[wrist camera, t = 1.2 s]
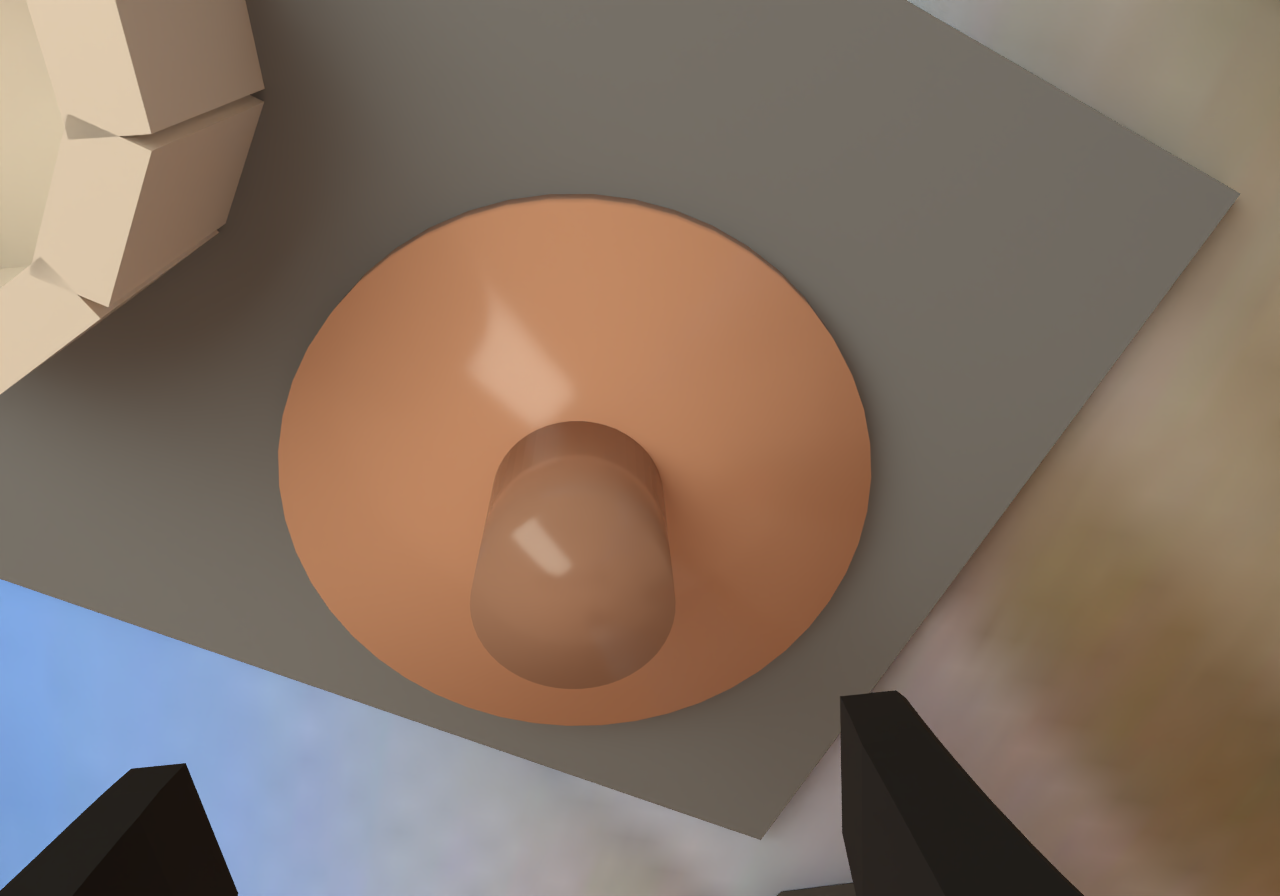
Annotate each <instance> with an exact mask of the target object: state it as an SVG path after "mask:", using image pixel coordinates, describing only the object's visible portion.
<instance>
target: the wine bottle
mask: <svg viewBox="0 0 1280 896" xmlns="http://www.w3.org/2000/svg"><path fill="white" fill-rule="evenodd" d="M777 896H856V893H855V888H854V884H853V883H850V884H842V885H834V886H826V887H818V888H810V889H802V890H793V891H785V892H781V893H779V894H778V895H777Z"/></svg>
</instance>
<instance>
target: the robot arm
mask: <svg viewBox="0 0 1280 896" xmlns="http://www.w3.org/2000/svg"><path fill="white" fill-rule="evenodd" d="M840 725H841V781H842V833H843V838H844V842H845V847H846V852H847V856H848V861H849V866H850V870H851V875H852V879H853V884H854V888H855V893H856V896H1084V895H1083V894H1082V893H1081V892H1080V891H1079V890H1078V889H1077V888H1076V887H1075V886H1073V885H1072V884H1071V883H1070V882H1069V881H1068V880H1067V879H1066V878H1065V877H1064V876H1063V875H1062V874H1061V873H1060V872H1059V871H1058V870H1057V869H1056V868H1055V867H1054V866H1053V865H1052V864H1051V863H1050V862H1049V861H1048V860H1047V859H1046V858H1045V857H1044V856H1043V855H1042V854H1041V853H1040V852H1039V851H1038V850H1037V849H1036V848H1035V847H1034V846H1033V845H1032V844H1031V842H1030V841H1029V840H1028V839H1027V838H1026V837H1025V836H1024V835H1023V834H1022V833H1021V832H1020V831H1019V830H1018V829H1017V828H1016V827H1015V825H1014V824H1013V823H1012V822H1011V821H1010V820H1009V819H1008V818H1007V817H1006V816H1005V815H1004V814H1003V813H1002V812H1001V811H1000V810H999V808H998V807H997V806H996V805H995V804H994V803H993V802H992V801H991V800H990V799H989V798H988V796H987V795H986V794H985V793H984V792H983V791H982V790H981V789H980V788H979V786H978V785H977V784H976V783H975V782H974V781H973V780H972V778H971V777H970V776H969V775H968V774H967V773H966V772H965V770H964V769H963V768H962V767H961V766H960V765H959V763H958V762H957V761H956V760H955V759H954V758H953V756H952V755H951V754H950V753H949V752H948V750H947V749H946V748H945V747H944V746H943V744H942V743H941V742H940V741H939V740H938V738H937V737H936V736H935V735H934V733H933V732H932V731H931V730H930V728H929V727H928V726H927V725H926V723H925V722H924V721H923V720H922V718H921V717H920V716H919V715H918V713H917V712H916V711H915V709H914V708H913V707H912V706H911V704H910V703H909V702H908V700H907V699H906V698H905V697H904V696H902V695H901V694H900V693H899V692H897V691H887V692H877V693H867V694H857V695H847V696H840ZM0 896H238V892H237V890H236V887H235V885H234V882H233V880H232V877H231V875H230V872H229V870H228V867H227V865H226V862H225V860H224V857H223V855H222V852H221V850H220V847H219V845H218V842H217V840H216V837H215V835H214V832H213V830H212V828H211V825H210V823H209V820H208V818H207V815H206V813H205V810H204V808H203V805H202V803H201V800H200V798H199V795H198V793H197V790H196V788H195V785H194V783H193V780H192V778H191V775H190V773H189V771H188V768H187V766H186V763H183V764H174V765H164V766H154V767H144V768H135V769H130V770H129V771H128V772H127V773H126V774H125V775H124V776H122V777H121V778H120V779H119V780H118V781H117V782H116V783H114V784H113V785H112V786H111V787H110V788H109V789H108V790H107V791H105V792H104V793H103V794H102V795H101V796H100V797H99V798H98V799H97V800H96V801H95V802H94V803H93V804H91V805H90V806H89V807H88V808H87V809H86V810H85V811H84V812H83V813H82V814H81V815H80V816H79V817H78V818H77V819H75V820H74V821H73V822H72V823H71V824H70V825H69V826H68V827H67V828H66V829H65V830H64V831H63V832H62V833H61V834H60V835H59V836H58V837H57V838H56V839H54V840H53V841H52V842H51V843H50V844H49V845H48V846H47V847H46V848H45V849H44V850H43V851H42V852H41V853H40V854H39V855H38V856H37V857H36V858H35V859H33V860H32V861H31V862H30V863H29V864H28V865H27V866H26V867H25V868H24V869H23V870H22V871H21V872H20V873H19V874H18V875H17V876H15V877H14V878H13V879H12V880H11V881H10V882H9V883H8V884H7V885H6V886H5V887H4V888H3V889H2V890H1V891H0Z"/></svg>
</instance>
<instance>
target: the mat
mask: <svg viewBox="0 0 1280 896" xmlns="http://www.w3.org/2000/svg"><path fill="white" fill-rule="evenodd" d="M245 1H246V6H247V10H248V15H249V19H250V24H251V28H252V33H253V38H254V42H255V47H256V51H257V56H258V60H259V65H260V70H261V74H262V79H263V83H264V88H265V89H263V90H260V91H258V92H255V93H253V94H250V95H251V96H253V97H255V98H257V99H259V100H262V101H264V104H263V107H262V110H261V113H260V117H259V120H258V123H257V126H256V129H255V132H254V135H253V139H252V142H251V145H250V148H249V151H248V154H247V157H246V161H245V164H244V167H243V170H242V173H241V176H240V179H239V183H238V186H237V189H236V192H235V195H234V198H233V202H232V205H231V208H230V211H229V214H228V217H227V220H226V224H224V225H223V226H221V227H220V228H219V229H217V231H218V232H219V233H218V234H217V235H215V236H214V237H213V238H211V239H210V240H209V241H207V242H206V243H205V244H203V245H202V246H201V247H199V248H198V249H197V250H195V251H194V252H193V253H191V254H190V255H189V256H187V257H186V258H185V259H183V260H182V261H181V262H179V263H178V264H177V265H175V266H174V267H173V268H171V269H170V270H169V271H167V272H166V273H165V274H163V275H162V276H161V277H159V278H158V279H157V280H155V281H154V282H153V283H151V284H150V285H149V286H147V287H146V288H145V289H143V290H142V291H141V292H140V293H138V294H137V295H136V296H134V297H133V298H132V299H130V300H129V301H128V302H126V303H125V304H123V305H122V306H121V307H119V308H118V309H117V310H115V311H114V312H113V313H111V314H110V315H108V316H107V317H106V318H104V319H103V320H102V321H100V322H99V323H98V324H96V325H95V326H93V327H92V328H91V329H89V330H88V331H87V332H85V333H84V334H82V335H81V336H80V337H78V338H77V339H76V340H74V341H73V342H72V343H70V344H69V345H67V346H66V347H65V348H63V349H62V350H61V351H59V352H58V353H57V354H55V355H54V356H52V357H51V358H50V359H48V360H47V361H46V362H44V363H43V364H42V365H40V366H39V367H37V368H36V369H35V370H33V371H32V372H31V373H29V374H28V375H26V376H25V377H24V378H22V379H21V380H20V381H18V382H17V383H16V384H14V385H13V386H11V387H10V388H9V389H7V390H6V391H5V392H3V393H2V394H1V395H0V579H2V580H5V581H8V582H11V583H14V584H17V585H20V586H23V587H26V588H28V589H31V590H34V591H37V592H40V593H43V594H46V595H49V596H52V597H55V598H58V599H60V600H63V601H66V602H69V603H72V604H75V605H78V606H81V607H84V608H87V609H90V610H93V611H95V612H98V613H101V614H104V615H107V616H110V617H113V618H116V619H119V620H122V621H125V622H127V623H130V624H133V625H136V626H139V627H142V628H145V629H148V630H151V631H154V632H157V633H160V634H162V635H165V636H168V637H171V638H174V639H177V640H180V641H183V642H186V643H189V644H192V645H194V646H197V647H200V648H203V649H206V650H209V651H212V652H215V653H218V654H221V655H224V656H227V657H229V658H232V659H235V660H238V661H241V662H244V663H247V664H250V665H253V666H256V667H259V668H261V669H264V670H267V671H270V672H273V673H276V674H279V675H282V676H285V677H288V678H291V679H294V680H296V681H299V682H302V683H305V684H308V685H311V686H314V687H317V688H320V689H323V690H326V691H328V692H331V693H334V694H337V695H340V696H343V697H346V698H349V699H352V700H355V701H358V702H361V703H363V704H366V705H369V706H372V707H375V708H378V709H381V710H384V711H387V712H390V713H393V714H395V715H398V716H401V717H404V718H407V719H410V720H413V721H416V722H419V723H422V724H425V725H428V726H430V727H433V728H436V729H439V730H442V731H445V732H448V733H451V734H454V735H457V736H460V737H462V738H465V739H468V740H471V741H474V742H477V743H480V744H483V745H486V746H489V747H492V748H495V749H497V750H500V751H503V752H506V753H509V754H512V755H515V756H518V757H521V758H524V759H527V760H529V761H532V762H535V763H538V764H541V765H544V766H547V767H550V768H553V769H556V770H559V771H561V772H564V773H567V774H570V775H573V776H576V777H579V778H582V779H585V780H588V781H591V782H594V783H596V784H599V785H602V786H605V787H608V788H611V789H614V790H617V791H620V792H623V793H626V794H628V795H631V796H634V797H637V798H640V799H643V800H646V801H649V802H652V803H655V804H658V805H661V806H663V807H666V808H669V809H672V810H675V811H678V812H681V813H684V814H687V815H690V816H693V817H695V818H698V819H701V820H704V821H707V822H710V823H713V824H716V825H719V826H722V827H725V828H728V829H730V830H733V831H736V832H739V833H742V834H745V835H748V836H751V837H754V838H757V839H760V840H761V839H762V837H763V836H764V835H765V833H766V832H767V831H768V829H769V828H770V827H771V825H772V824H773V823H774V821H775V820H776V819H777V817H778V816H779V815H780V813H781V812H782V810H783V809H784V808H785V806H786V805H787V804H788V802H789V801H790V800H791V798H792V797H793V796H794V794H795V793H796V792H797V790H798V789H799V788H800V786H801V785H802V784H803V782H804V781H805V780H806V778H807V777H808V775H809V774H810V773H811V771H812V770H813V769H814V767H815V766H816V765H817V763H818V762H819V761H820V759H821V758H822V757H823V755H824V754H825V753H826V751H827V750H828V749H829V747H830V746H831V745H832V743H833V742H834V740H835V739H836V738H837V736H838V735H839V734H840V732H841V725H840V696H847V695H857V694H867V693H870V692H871V691H872V689H873V688H874V687H875V685H876V684H877V683H878V681H879V680H880V679H881V677H882V676H883V675H884V673H885V672H886V670H887V669H888V668H889V666H890V665H891V664H892V662H893V661H894V660H895V658H896V657H897V656H898V654H899V653H900V652H901V650H902V649H903V648H904V646H905V645H906V644H907V642H908V641H909V639H910V638H911V637H912V635H913V634H914V633H915V631H916V630H917V629H918V627H919V626H920V625H921V623H922V622H923V621H924V619H925V618H926V617H927V615H928V614H929V613H930V611H931V610H932V609H933V607H934V606H935V604H936V603H937V602H938V600H939V599H940V598H941V596H942V595H943V594H944V592H945V591H946V590H947V588H948V587H949V586H950V584H951V583H952V582H953V580H954V579H955V578H956V576H957V575H958V574H959V572H960V571H961V569H962V568H963V567H964V565H965V564H966V563H967V561H968V560H969V559H970V557H971V556H972V555H973V553H974V552H975V551H976V549H977V548H978V547H979V545H980V544H981V543H982V541H983V540H984V539H985V537H986V536H987V534H988V533H989V532H990V530H991V529H992V528H993V526H994V525H995V524H996V522H997V521H998V520H999V518H1000V517H1001V516H1002V514H1003V513H1004V512H1005V510H1006V509H1007V508H1008V506H1009V505H1010V503H1011V502H1012V501H1013V499H1014V498H1015V497H1016V495H1017V494H1018V493H1019V491H1020V490H1021V489H1022V487H1023V486H1024V485H1025V483H1026V482H1027V481H1028V479H1029V478H1030V477H1031V475H1032V474H1033V473H1034V471H1035V470H1036V468H1037V467H1038V466H1039V464H1040V463H1041V462H1042V460H1043V459H1044V458H1045V456H1046V455H1047V454H1048V452H1049V451H1050V450H1051V448H1052V447H1053V446H1054V444H1055V443H1056V442H1057V440H1058V439H1059V438H1060V436H1061V435H1062V433H1063V432H1064V431H1065V429H1066V428H1067V427H1068V425H1069V424H1070V423H1071V421H1072V420H1073V419H1074V417H1075V416H1076V415H1077V413H1078V412H1079V411H1080V409H1081V408H1082V407H1083V405H1084V404H1085V403H1086V401H1087V400H1088V398H1089V397H1090V396H1091V394H1092V393H1093V392H1094V390H1095V389H1096V388H1097V386H1098V385H1099V384H1100V382H1101V381H1102V380H1103V378H1104V377H1105V376H1106V374H1107V373H1108V372H1109V370H1110V369H1111V368H1112V366H1113V365H1114V363H1115V362H1116V361H1117V359H1118V358H1119V357H1120V355H1121V354H1122V353H1123V351H1124V350H1125V349H1126V347H1127V346H1128V345H1129V343H1130V342H1131V341H1132V339H1133V338H1134V337H1135V335H1136V334H1137V332H1138V331H1139V330H1140V328H1141V327H1142V326H1143V324H1144V323H1145V322H1146V320H1147V319H1148V318H1149V316H1150V315H1151V314H1152V312H1153V311H1154V310H1155V308H1156V307H1157V306H1158V304H1159V303H1160V302H1161V300H1162V299H1163V297H1164V296H1165V295H1166V293H1167V292H1168V291H1169V289H1170V288H1171V287H1172V285H1173V284H1174V283H1175V281H1176V280H1177V279H1178V277H1179V276H1180V275H1181V273H1182V272H1183V271H1184V269H1185V268H1186V267H1187V265H1188V264H1189V262H1190V261H1191V260H1192V258H1193V257H1194V256H1195V254H1196V253H1197V252H1198V250H1199V249H1200V248H1201V246H1202V245H1203V244H1204V242H1205V241H1206V240H1207V238H1208V237H1209V236H1210V234H1211V233H1212V232H1213V230H1214V229H1215V227H1216V226H1217V225H1218V223H1219V222H1220V221H1221V219H1222V218H1223V217H1224V215H1225V214H1226V213H1227V211H1228V210H1229V209H1230V207H1231V206H1232V205H1233V203H1234V202H1235V201H1236V199H1237V198H1238V197H1239V195H1240V193H1238V192H1236V191H1235V190H1233V189H1231V188H1229V187H1228V186H1226V185H1224V184H1223V183H1221V182H1219V181H1217V180H1216V179H1214V178H1212V177H1210V176H1209V175H1207V174H1205V173H1204V172H1202V171H1200V170H1198V169H1197V168H1195V167H1193V166H1191V165H1190V164H1188V163H1186V162H1185V161H1183V160H1181V159H1179V158H1178V157H1176V156H1174V155H1172V154H1171V153H1169V152H1167V151H1166V150H1164V149H1162V148H1160V147H1159V146H1157V145H1155V144H1153V143H1152V142H1150V141H1148V140H1147V139H1145V138H1143V137H1141V136H1140V135H1138V134H1136V133H1134V132H1133V131H1131V130H1129V129H1128V128H1126V127H1124V126H1122V125H1121V124H1119V123H1117V122H1115V121H1114V120H1112V119H1110V118H1109V117H1107V116H1105V115H1103V114H1102V113H1100V112H1098V111H1096V110H1095V109H1093V108H1091V107H1090V106H1088V105H1086V104H1084V103H1083V102H1081V101H1079V100H1077V99H1076V98H1074V97H1072V96H1071V95H1069V94H1067V93H1065V92H1064V91H1062V90H1060V89H1058V88H1057V87H1055V86H1053V85H1052V84H1050V83H1048V82H1046V81H1045V80H1043V79H1041V78H1039V77H1038V76H1036V75H1034V74H1033V73H1031V72H1029V71H1027V70H1026V69H1024V68H1022V67H1020V66H1019V65H1017V64H1015V63H1014V62H1012V61H1010V60H1008V59H1007V58H1005V57H1003V56H1001V55H1000V54H998V53H996V52H995V51H993V50H991V49H989V48H988V47H986V46H984V45H982V44H981V43H979V42H977V41H976V40H974V39H972V38H970V37H969V36H967V35H965V34H963V33H962V32H960V31H958V30H957V29H955V28H953V27H951V26H950V25H948V24H946V23H944V22H943V21H941V20H939V19H938V18H936V17H934V16H932V15H931V14H929V13H927V12H925V11H924V10H922V9H920V8H918V7H917V6H915V5H913V4H912V3H910V2H908V1H906V0H245ZM547 194H597V195H605V196H613V197H620V198H628V199H635V200H639V201H643V202H646V203H650V204H654V205H658V206H662V207H665V208H669V209H673V210H676V211H678V212H681V213H683V214H686V215H688V216H691V217H693V218H695V219H698V220H700V221H703V222H705V223H707V224H710V225H712V226H714V227H716V228H718V229H719V230H721V231H723V232H724V233H726V234H728V235H730V236H731V237H733V238H735V239H737V240H738V241H740V242H742V243H743V244H745V245H747V246H748V247H750V248H751V249H752V250H753V251H755V252H756V253H757V254H759V255H760V256H761V257H762V258H764V259H765V260H766V261H767V262H769V263H770V264H771V265H773V266H774V267H775V268H776V269H778V270H779V271H780V272H781V273H782V274H783V275H784V276H785V277H786V278H787V279H788V280H789V282H790V283H791V284H792V285H793V286H794V287H795V288H796V289H797V290H798V291H799V292H800V293H801V294H802V295H803V296H804V297H805V298H806V300H807V301H808V302H809V304H810V305H811V307H812V308H813V309H814V311H815V312H816V314H817V315H818V316H819V318H820V319H821V321H822V322H823V323H824V325H825V326H826V327H827V329H828V331H829V333H830V334H831V336H832V338H833V339H834V341H835V343H836V345H837V347H838V348H839V350H840V352H841V354H842V356H843V358H844V360H845V362H846V364H847V366H848V368H849V370H850V372H851V374H852V376H853V379H854V382H855V384H856V387H857V390H858V393H859V396H860V399H861V402H862V405H863V408H864V412H865V418H866V423H867V429H868V434H869V440H870V455H871V484H870V492H869V501H868V509H867V514H866V518H865V521H864V525H863V529H862V533H861V536H860V540H859V544H858V546H857V548H856V551H855V553H854V555H853V558H852V560H851V562H850V565H849V567H848V569H847V572H846V574H845V576H844V577H843V579H842V581H841V582H840V584H839V586H838V587H837V589H836V591H835V592H834V594H833V596H832V598H831V599H830V601H829V602H828V604H827V605H826V606H825V607H824V609H823V610H822V611H821V613H820V614H819V615H818V616H817V618H816V619H815V620H814V621H813V623H812V624H811V625H810V627H809V628H808V629H807V630H806V631H805V632H804V633H803V634H802V635H801V636H800V637H799V638H798V639H797V640H796V641H795V642H794V643H793V644H792V645H791V646H790V647H789V648H788V649H787V650H786V651H784V652H783V653H782V654H780V655H779V656H778V657H777V658H775V659H774V660H773V661H771V662H770V663H769V664H768V665H766V666H765V667H764V668H762V669H761V670H760V671H758V672H757V673H755V674H754V675H752V676H750V677H749V678H747V679H745V680H744V681H742V682H740V683H739V684H737V685H735V686H734V687H732V688H730V689H728V690H726V691H724V692H722V693H720V694H718V695H715V696H713V697H711V698H709V699H707V700H705V701H703V702H700V703H698V704H695V705H692V706H689V707H686V708H683V709H680V710H677V711H674V712H671V713H668V714H664V715H659V716H655V717H651V718H646V719H642V720H638V721H631V722H623V723H615V724H607V725H584V726H564V725H551V724H539V723H531V722H525V721H520V720H514V719H509V718H503V717H499V716H495V715H492V714H489V713H485V712H482V711H478V710H475V709H471V708H468V707H465V706H463V705H461V704H458V703H456V702H453V701H451V700H448V699H446V698H444V697H441V696H439V695H436V694H434V693H432V692H431V691H429V690H427V689H425V688H423V687H421V686H420V685H418V684H416V683H414V682H412V681H410V680H409V679H407V678H405V677H404V676H402V675H401V674H399V673H398V672H397V671H395V670H394V669H392V668H391V667H389V666H388V665H387V664H385V663H384V662H382V661H381V660H379V659H378V658H377V657H376V656H375V655H373V654H372V653H371V652H370V651H369V650H368V649H367V648H366V647H364V646H363V645H362V644H361V643H360V642H359V641H358V640H357V639H355V638H354V637H353V636H352V635H351V634H350V632H349V631H348V630H347V629H346V628H345V627H344V626H343V625H342V623H341V622H340V621H339V620H338V619H337V618H336V617H335V615H334V614H333V613H332V612H331V611H330V610H329V608H328V607H327V605H326V604H325V602H324V601H323V599H322V598H321V596H320V595H319V593H318V592H317V590H316V589H315V587H314V586H313V584H312V583H311V581H310V579H309V577H308V575H307V573H306V571H305V569H304V567H303V565H302V563H301V561H300V559H299V557H298V555H297V553H296V551H295V548H294V545H293V542H292V539H291V536H290V533H289V530H288V527H287V524H286V521H285V516H284V510H283V505H282V499H281V493H280V488H279V464H278V448H279V440H280V432H281V424H282V416H283V413H284V409H285V406H286V402H287V399H288V395H289V392H290V388H291V385H292V381H293V379H294V377H295V375H296V373H297V370H298V368H299V366H300V364H301V362H302V360H303V357H304V355H305V353H306V351H307V349H308V347H309V345H310V344H311V342H312V341H313V339H314V338H315V336H316V335H317V333H318V332H319V330H320V329H321V327H322V326H323V324H324V323H325V321H326V320H327V318H328V317H329V315H330V314H331V313H332V311H333V310H334V309H335V307H336V306H337V305H338V303H339V302H340V301H341V300H342V299H343V297H344V296H345V295H346V294H347V293H348V292H349V291H350V290H351V289H352V288H353V286H354V285H355V284H356V283H357V282H358V281H359V280H360V279H361V278H362V276H363V275H364V274H365V273H366V272H368V271H369V270H370V269H371V268H372V267H374V266H375V265H376V264H377V263H378V262H380V261H381V260H382V259H383V258H385V257H386V256H387V255H388V254H389V253H391V252H392V251H393V250H394V249H395V248H397V247H399V246H400V245H402V244H404V243H405V242H407V241H408V240H410V239H412V238H413V237H415V236H417V235H418V234H420V233H422V232H423V231H425V230H427V229H428V228H430V227H432V226H434V225H437V224H439V223H441V222H444V221H446V220H448V219H451V218H453V217H455V216H458V215H460V214H462V213H465V212H467V211H470V210H474V209H477V208H481V207H484V206H488V205H492V204H495V203H499V202H502V201H506V200H511V199H518V198H525V197H533V196H540V195H547Z"/></svg>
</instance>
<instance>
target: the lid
mask: <svg viewBox="0 0 1280 896" xmlns="http://www.w3.org/2000/svg"><path fill="white" fill-rule="evenodd" d="M278 464H279V488H280V493H281V499H282V505H283V510H284V516H285V521H286V524H287V527H288V530H289V533H290V536H291V539H292V542H293V545H294V548H295V551H296V553H297V555H298V557H299V559H300V561H301V563H302V565H303V567H304V569H305V571H306V573H307V575H308V577H309V579H310V581H311V583H312V584H313V586H314V587H315V589H316V590H317V592H318V593H319V595H320V596H321V598H322V599H323V601H324V602H325V604H326V605H327V607H328V608H329V610H330V611H331V612H332V613H333V614H334V615H335V617H336V618H337V619H338V620H339V621H340V622H341V623H342V625H343V626H344V627H345V628H346V629H347V630H348V631H349V632H350V634H351V635H352V636H353V637H354V638H355V639H357V640H358V641H359V642H360V643H361V644H362V645H363V646H364V647H366V648H367V649H368V650H369V651H370V652H371V653H372V654H373V655H375V656H376V657H377V658H378V659H379V660H381V661H382V662H384V663H385V664H387V665H388V666H389V667H391V668H392V669H394V670H395V671H397V672H398V673H399V674H401V675H402V676H404V677H405V678H407V679H409V680H410V681H412V682H414V683H416V684H418V685H420V686H421V687H423V688H425V689H427V690H429V691H431V692H432V693H434V694H436V695H439V696H441V697H444V698H446V699H448V700H451V701H453V702H456V703H458V704H461V705H463V706H465V707H468V708H471V709H475V710H478V711H482V712H485V713H489V714H492V715H495V716H499V717H503V718H509V719H514V720H520V721H525V722H531V723H539V724H551V725H564V726H584V725H607V724H615V723H623V722H631V721H638V720H642V719H646V718H651V717H655V716H659V715H664V714H668V713H671V712H674V711H677V710H680V709H683V708H686V707H689V706H692V705H695V704H698V703H700V702H703V701H705V700H707V699H709V698H711V697H713V696H715V695H718V694H720V693H722V692H724V691H726V690H728V689H730V688H732V687H734V686H735V685H737V684H739V683H740V682H742V681H744V680H745V679H747V678H749V677H750V676H752V675H754V674H755V673H757V672H758V671H760V670H761V669H762V668H764V667H765V666H766V665H768V664H769V663H770V662H771V661H773V660H774V659H775V658H777V657H778V656H779V655H780V654H782V653H783V652H784V651H786V650H787V649H788V648H789V647H790V646H791V645H792V644H793V643H794V642H795V641H796V640H797V639H798V638H799V637H800V636H801V635H802V634H803V633H804V632H805V631H806V630H807V629H808V628H809V627H810V625H811V624H812V623H813V621H814V620H815V619H816V618H817V616H818V615H819V614H820V613H821V611H822V610H823V609H824V607H825V606H826V605H827V604H828V602H829V601H830V599H831V598H832V596H833V594H834V592H835V591H836V589H837V587H838V586H839V584H840V582H841V581H842V579H843V577H844V576H845V574H846V572H847V569H848V567H849V565H850V562H851V560H852V558H853V555H854V553H855V551H856V548H857V546H858V544H859V540H860V536H861V533H862V529H863V525H864V521H865V518H866V514H867V509H868V501H869V492H870V484H871V455H870V440H869V434H868V429H867V423H866V418H865V412H864V408H863V405H862V402H861V399H860V396H859V393H858V390H857V387H856V384H855V382H854V379H853V376H852V374H851V372H850V370H849V368H848V366H847V364H846V362H845V360H844V358H843V356H842V354H841V352H840V350H839V348H838V347H837V345H836V343H835V341H834V339H833V338H832V336H831V334H830V333H829V331H828V329H827V327H826V326H825V325H824V323H823V322H822V321H821V319H820V318H819V316H818V315H817V314H816V312H815V311H814V309H813V308H812V307H811V305H810V304H809V302H808V301H807V300H806V298H805V297H804V296H803V295H802V294H801V293H800V292H799V291H798V290H797V289H796V288H795V287H794V286H793V285H792V284H791V283H790V282H789V280H788V279H787V278H786V277H785V276H784V275H783V274H782V273H781V272H780V271H779V270H778V269H776V268H775V267H774V266H773V265H771V264H770V263H769V262H767V261H766V260H765V259H764V258H762V257H761V256H760V255H759V254H757V253H756V252H755V251H753V250H752V249H751V248H750V247H748V246H747V245H745V244H743V243H742V242H740V241H738V240H737V239H735V238H733V237H731V236H730V235H728V234H726V233H724V232H723V231H721V230H719V229H718V228H716V227H714V226H712V225H710V224H707V223H705V222H703V221H700V220H698V219H695V218H693V217H691V216H688V215H686V214H683V213H681V212H678V211H676V210H673V209H669V208H665V207H662V206H658V205H654V204H650V203H646V202H643V201H639V200H635V199H628V198H620V197H613V196H605V195H597V194H547V195H540V196H533V197H525V198H518V199H511V200H506V201H502V202H499V203H495V204H492V205H488V206H484V207H481V208H477V209H474V210H470V211H467V212H465V213H462V214H460V215H458V216H455V217H453V218H451V219H448V220H446V221H444V222H441V223H439V224H437V225H434V226H432V227H430V228H428V229H427V230H425V231H423V232H422V233H420V234H418V235H417V236H415V237H413V238H412V239H410V240H408V241H407V242H405V243H404V244H402V245H400V246H399V247H397V248H395V249H394V250H393V251H392V252H391V253H389V254H388V255H387V256H386V257H385V258H383V259H382V260H381V261H380V262H378V263H377V264H376V265H375V266H374V267H372V268H371V269H370V270H369V271H368V272H366V273H365V274H364V275H363V276H362V278H361V279H360V280H359V281H358V282H357V283H356V284H355V285H354V286H353V288H352V289H351V290H350V291H349V292H348V293H347V294H346V295H345V296H344V297H343V299H342V300H341V301H340V302H339V303H338V305H337V306H336V307H335V309H334V310H333V311H332V313H331V314H330V315H329V317H328V318H327V320H326V321H325V323H324V324H323V326H322V327H321V329H320V330H319V332H318V333H317V335H316V336H315V338H314V339H313V341H312V342H311V344H310V345H309V347H308V349H307V351H306V353H305V355H304V357H303V360H302V362H301V364H300V366H299V368H298V370H297V373H296V375H295V377H294V379H293V381H292V385H291V388H290V392H289V395H288V399H287V402H286V406H285V409H284V413H283V416H282V424H281V432H280V440H279V448H278Z"/></svg>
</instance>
